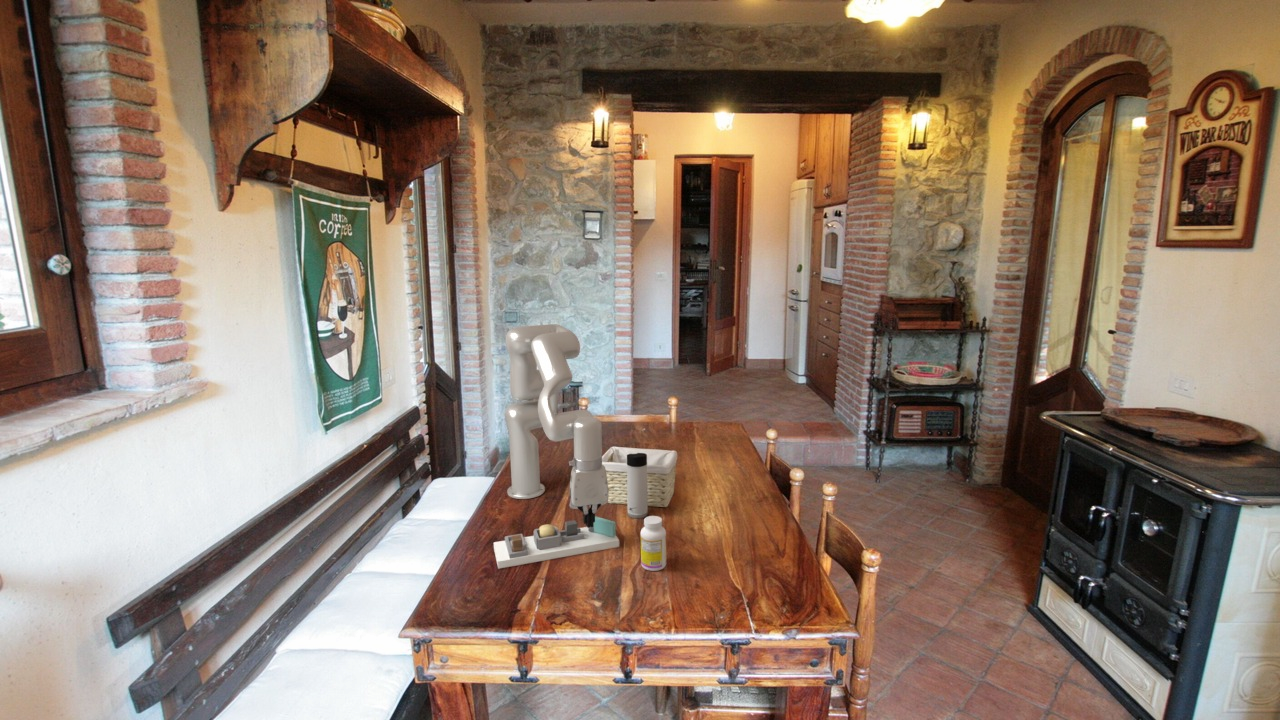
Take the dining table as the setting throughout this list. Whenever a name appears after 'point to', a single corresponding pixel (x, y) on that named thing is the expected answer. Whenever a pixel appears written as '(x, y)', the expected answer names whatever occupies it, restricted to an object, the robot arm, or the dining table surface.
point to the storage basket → (657, 474)
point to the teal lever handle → (603, 527)
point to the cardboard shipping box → (517, 543)
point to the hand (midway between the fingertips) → (589, 525)
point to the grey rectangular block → (571, 528)
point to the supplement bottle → (653, 544)
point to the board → (551, 545)
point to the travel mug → (637, 485)
